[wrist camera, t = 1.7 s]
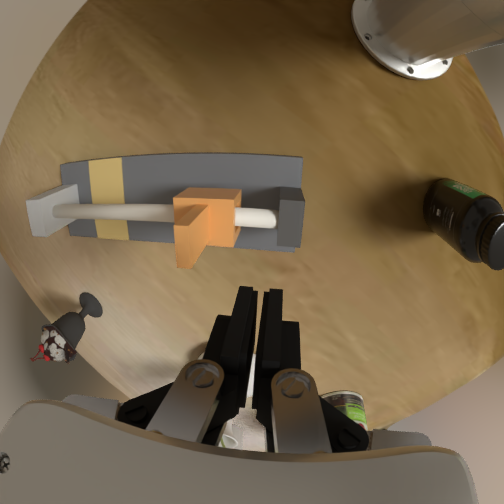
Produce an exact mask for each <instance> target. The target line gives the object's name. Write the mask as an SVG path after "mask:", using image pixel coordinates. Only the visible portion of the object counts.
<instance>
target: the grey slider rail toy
mask: <svg viewBox="0 0 504 504" xmlns="http://www.w3.org/2000/svg"><path fill="white" fill-rule="evenodd" d="M302 166H303V157H298V156H286V155H271V154H252V153H164V154H145V155H131V156H119V157H109V158H100V159H91V160H84V161H76V162H70V163H65V164H61V165H60V167H61V178H62V186H59V187H56V188H54V189H51V190H49V191H47V192H44V193H42V194H39V195H37V196H35V197H32V198H30V199H28V200H26V206H27V212H28V217H29V222H30V227H31V232H32V236H38V237H48V236H49V235H51V234H53V233H54V232H56V231H58V230H59V229H61V228H63V227H64V226H66V225H68V227H69V232H70V236H83V237H97V238H104V239H117V240H138V241H151V242H165V243H175V238H174V224H175V222H174V205H173V197H175V196H176V195H178V194H179V193H181V192H183V191H184V190H186V189H187V188H189V187H193V188H226V189H241V208H239V207H235V226H241V230H240V233H239V235H238V238H237V240H236V242H235V245H234V247H231V248H244V249H256V250H269V251H282V252H295V247H297V248H300V245H301V236H302V227H303V218H304V208H305V200H304V197H303V193H302V190H301V179H302ZM206 246H207V245H206ZM218 247H220V246H218Z"/></svg>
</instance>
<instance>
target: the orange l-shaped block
mask: <svg viewBox="0 0 504 504" xmlns="http://www.w3.org/2000/svg"><path fill="white" fill-rule="evenodd" d="M173 205H174V222H175V224H174V238H175V250H176V261H177V268H187V269H191V268H192V267H193V265H194V263H195V262H196V260H197V259H198V257H199V256H200V254H201V252H202V251H203V249H204V248H205V246H206V245H207V246H220V247H234V245H235V242H236V240H237V238H238V235H239V233H240V230H241V226H235V207H239V208H241V189H226V188H193V187H189V188H187V189H186V190H184V191H183V192H181V193H179V194H178V195H176V196H175V197H173Z"/></svg>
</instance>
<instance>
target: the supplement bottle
mask: <svg viewBox="0 0 504 504" xmlns="http://www.w3.org/2000/svg"><path fill="white" fill-rule="evenodd" d="M423 213H424V218H425V221H426V223H427V225H428V226H429V227H430V229H431V230H433V231H434V232H435V233H436V234H437V235H438V236H440V237H441V238H442V239H443V240H444V241H446V242H447V243H448V244H449V245H450V246H451V247H452V248H454V249H455V250H456V251H457V252H458V253H459V254H460V255H462V256H463V257H464V258H465V259H466V260H468V261H470V262H473V263H481V262H484V263H485V264H487V265H488V266H489V267H490V268H491V269H494V270H502V269H504V211H503V209H502V207H501V205H500V204H499V202H498V201H497V200H496V199H494V198H493V197H491V196H489V195H487V194H485V193H483V192H481V191H478V190H476V189H474V188H472V187H469V186H467V185H465V184H462V183H460V182H457V181H455V180H452V179H442V180H439V181H437V182H436V183H434V184H433V185H432V186H431V187H430V189H429V190H428V192H427V194H426V196H425V199H424V205H423Z"/></svg>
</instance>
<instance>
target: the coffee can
mask: <svg viewBox="0 0 504 504" xmlns="http://www.w3.org/2000/svg"><path fill="white" fill-rule="evenodd" d="M320 397H322V398H323V399H324V400H326V401H327V402H328V403H330V404H331V405H332V406H334V407H335V408H337V409H338V410H339V411H341V412H342V413H343V414H345V415H346V416H348V417H349V418H350V419H352V420H353V421H355V422H356V423H357V424H359V425H360V426H362V427H363V428H364V429H365V430H366V431H368V429H367V423H366V417H365V411H364V405H363V398H362V396H361V395H359V394H358V393H356V392H352V391H337V392H332V393H328V394H325V395H322V396H320Z"/></svg>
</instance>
